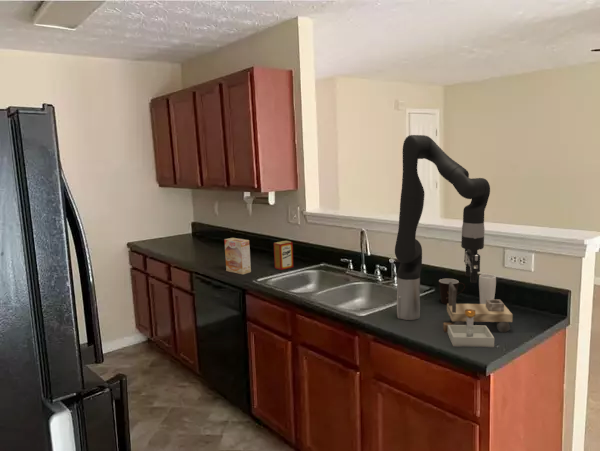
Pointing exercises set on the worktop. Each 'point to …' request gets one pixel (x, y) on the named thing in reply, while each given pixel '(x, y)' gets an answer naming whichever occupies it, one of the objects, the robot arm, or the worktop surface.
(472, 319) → the stop pin
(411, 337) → the worktop surface
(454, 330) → the tray
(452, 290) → the trolley
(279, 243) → the baking soda box
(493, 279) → the drinking glass
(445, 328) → the wheel chock
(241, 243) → the coffeecake box
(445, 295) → the coffee mug
